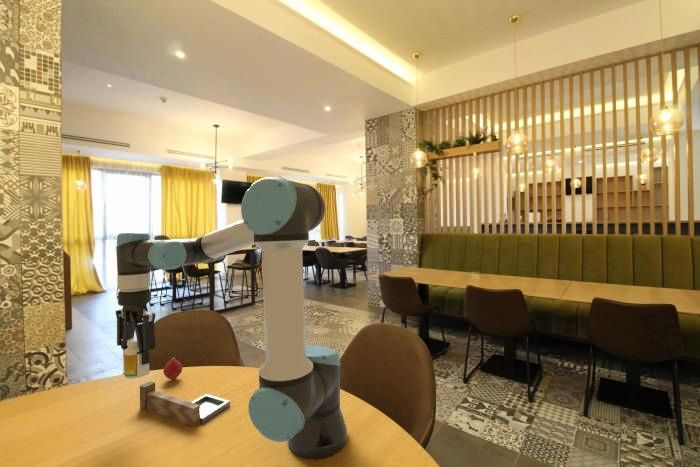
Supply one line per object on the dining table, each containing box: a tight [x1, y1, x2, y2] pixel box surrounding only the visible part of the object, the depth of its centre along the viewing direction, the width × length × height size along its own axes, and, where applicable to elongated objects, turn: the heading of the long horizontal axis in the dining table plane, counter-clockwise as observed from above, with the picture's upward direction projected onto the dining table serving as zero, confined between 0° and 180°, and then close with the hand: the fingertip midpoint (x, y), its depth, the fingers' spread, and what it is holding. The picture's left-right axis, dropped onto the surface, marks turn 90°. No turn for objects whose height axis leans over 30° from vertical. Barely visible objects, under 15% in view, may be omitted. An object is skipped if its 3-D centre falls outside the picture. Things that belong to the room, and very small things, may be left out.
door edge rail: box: [139, 380, 201, 428], centre depth 94 cm, size 22×3×7 cm, turn 65°
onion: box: [163, 357, 183, 381], centre depth 116 cm, size 6×6×8 cm
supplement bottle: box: [123, 336, 139, 380], centre depth 89 cm, size 5×5×10 cm
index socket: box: [191, 393, 231, 425], centre depth 97 cm, size 10×10×2 cm
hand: (136, 373), depth 89 cm, fingers closed on supplement bottle, 5 cm apart
